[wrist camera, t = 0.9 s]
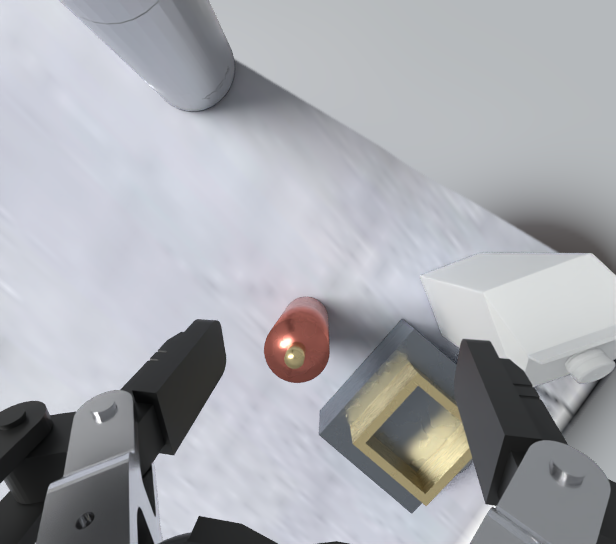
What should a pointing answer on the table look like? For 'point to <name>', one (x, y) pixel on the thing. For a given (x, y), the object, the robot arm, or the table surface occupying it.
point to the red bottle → (299, 341)
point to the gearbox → (400, 419)
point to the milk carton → (531, 310)
